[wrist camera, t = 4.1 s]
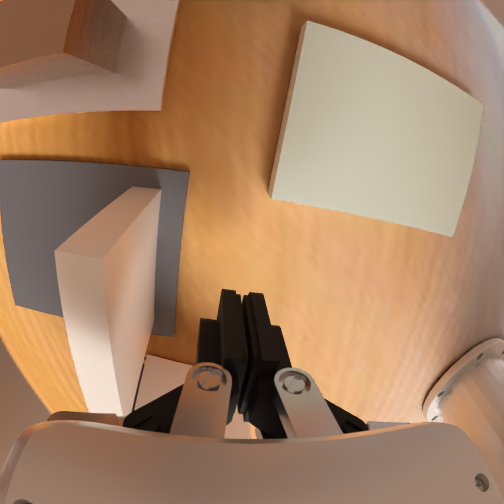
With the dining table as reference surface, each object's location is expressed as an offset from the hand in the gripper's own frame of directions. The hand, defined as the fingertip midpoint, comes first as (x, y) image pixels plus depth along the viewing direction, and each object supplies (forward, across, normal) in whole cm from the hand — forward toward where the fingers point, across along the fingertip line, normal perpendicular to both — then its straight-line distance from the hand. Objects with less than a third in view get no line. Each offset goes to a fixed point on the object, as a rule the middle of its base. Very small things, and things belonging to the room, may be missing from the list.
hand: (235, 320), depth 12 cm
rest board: (+5, -7, -9) cm, 12 cm away
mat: (+5, +9, 0) cm, 10 cm away
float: (+5, +11, -11) cm, 16 cm away
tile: (+4, +5, 0) cm, 7 cm away
